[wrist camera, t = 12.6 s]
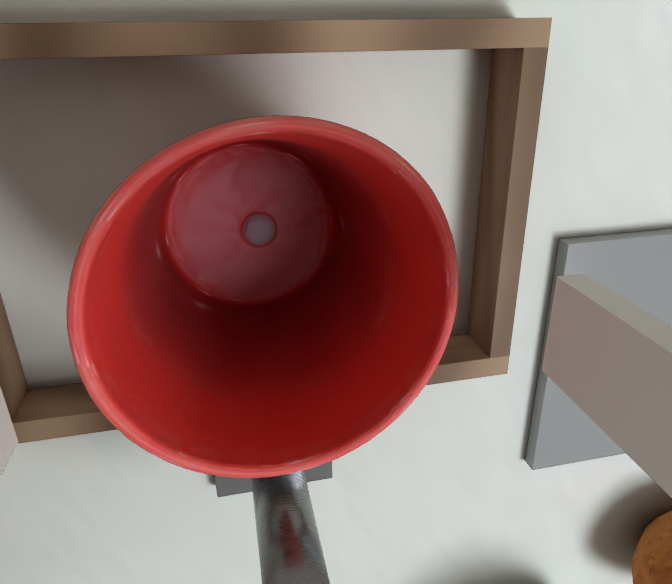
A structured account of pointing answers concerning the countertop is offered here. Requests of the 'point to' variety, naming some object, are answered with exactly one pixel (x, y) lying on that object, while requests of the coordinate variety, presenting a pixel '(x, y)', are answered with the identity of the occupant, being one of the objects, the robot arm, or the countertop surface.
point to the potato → (654, 553)
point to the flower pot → (263, 296)
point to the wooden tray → (332, 36)
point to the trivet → (632, 284)
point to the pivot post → (284, 524)
